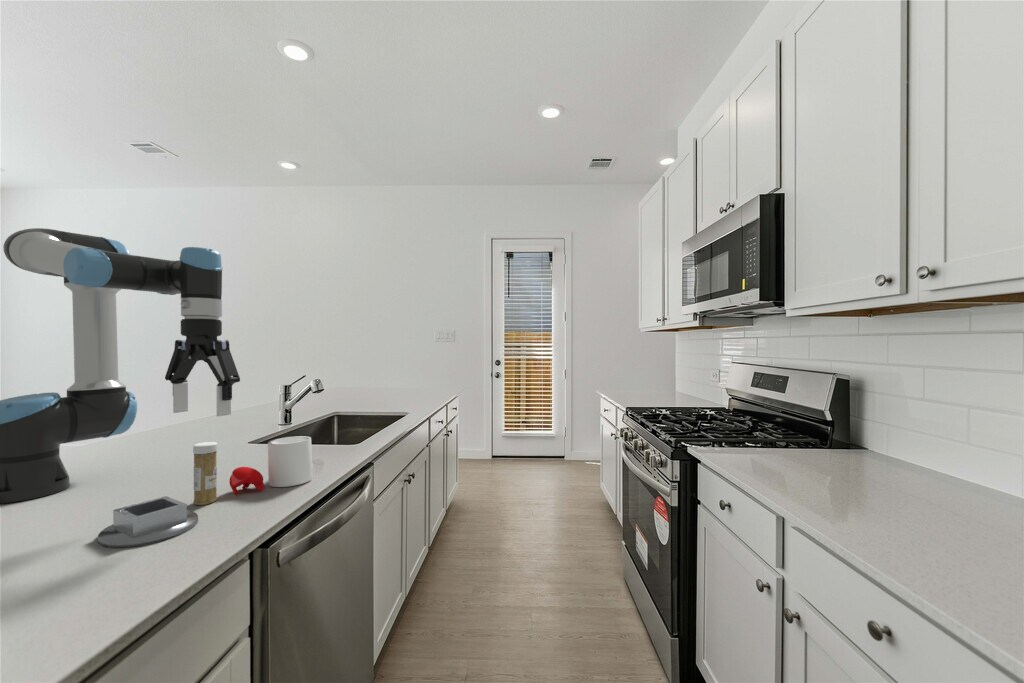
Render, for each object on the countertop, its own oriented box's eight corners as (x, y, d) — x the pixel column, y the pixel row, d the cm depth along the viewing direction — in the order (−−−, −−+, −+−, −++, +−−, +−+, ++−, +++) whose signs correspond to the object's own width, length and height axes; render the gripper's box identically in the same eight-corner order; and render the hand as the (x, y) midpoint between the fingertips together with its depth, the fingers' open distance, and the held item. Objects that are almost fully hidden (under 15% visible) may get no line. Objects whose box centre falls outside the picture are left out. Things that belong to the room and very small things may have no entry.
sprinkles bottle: (217, 503, 100) (217, 444, 100) (192, 507, 98) (192, 446, 98) (217, 497, 104) (217, 440, 104) (193, 501, 102) (193, 442, 102)
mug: (267, 476, 121) (267, 437, 121) (308, 470, 126) (308, 432, 126) (269, 489, 109) (268, 446, 109) (314, 482, 114) (313, 441, 114)
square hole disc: (84, 535, 84) (84, 512, 84) (176, 509, 97) (176, 489, 97) (118, 555, 76) (118, 529, 76) (212, 524, 89) (212, 502, 89)
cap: (220, 484, 104) (243, 470, 104) (228, 469, 109) (250, 456, 110) (244, 505, 107) (266, 492, 108) (251, 489, 113) (272, 477, 113)
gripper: (145, 318, 99) (145, 413, 99) (226, 316, 91) (226, 419, 91) (180, 319, 106) (180, 408, 106) (258, 318, 98) (258, 414, 98)
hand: (201, 413), depth 99 cm, fingers open, 13 cm apart
